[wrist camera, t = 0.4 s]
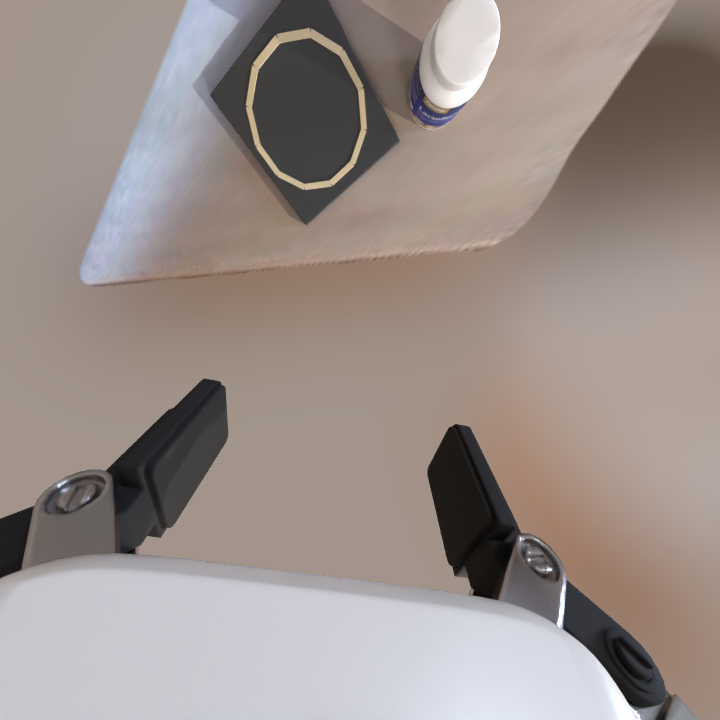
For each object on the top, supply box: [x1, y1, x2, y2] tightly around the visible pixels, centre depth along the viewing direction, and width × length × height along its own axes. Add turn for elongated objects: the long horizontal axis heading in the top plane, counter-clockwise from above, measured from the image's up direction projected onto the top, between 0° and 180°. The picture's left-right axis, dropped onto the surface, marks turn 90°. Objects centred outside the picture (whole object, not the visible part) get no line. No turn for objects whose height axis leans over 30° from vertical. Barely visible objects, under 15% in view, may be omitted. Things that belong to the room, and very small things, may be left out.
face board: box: [210, 0, 399, 225], centre depth 28 cm, size 14×15×1 cm
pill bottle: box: [408, 0, 500, 130], centre depth 23 cm, size 6×6×10 cm
